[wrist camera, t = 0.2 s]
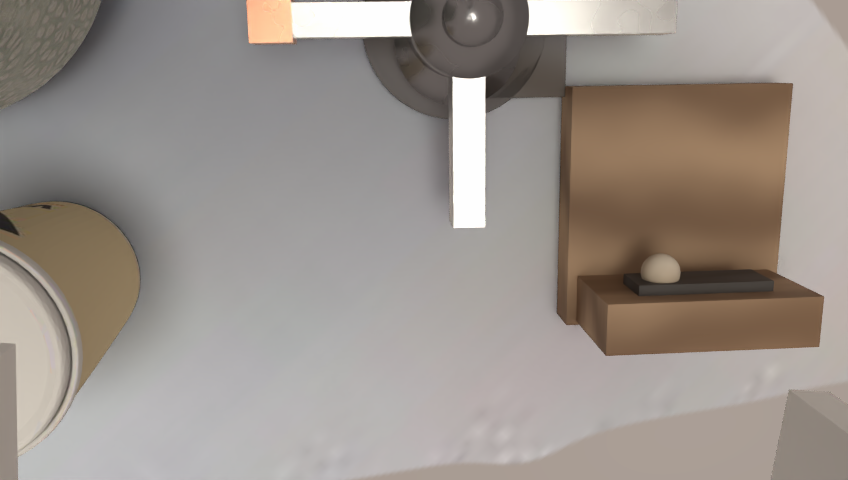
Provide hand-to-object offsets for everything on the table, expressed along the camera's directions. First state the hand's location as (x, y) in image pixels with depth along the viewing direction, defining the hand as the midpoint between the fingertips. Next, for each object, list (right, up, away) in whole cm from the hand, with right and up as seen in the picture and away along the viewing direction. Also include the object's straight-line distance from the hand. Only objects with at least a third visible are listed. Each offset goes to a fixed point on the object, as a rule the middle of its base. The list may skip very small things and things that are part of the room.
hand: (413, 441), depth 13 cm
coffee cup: (-18, +2, +26) cm, 32 cm away
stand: (+8, +9, +26) cm, 29 cm away
